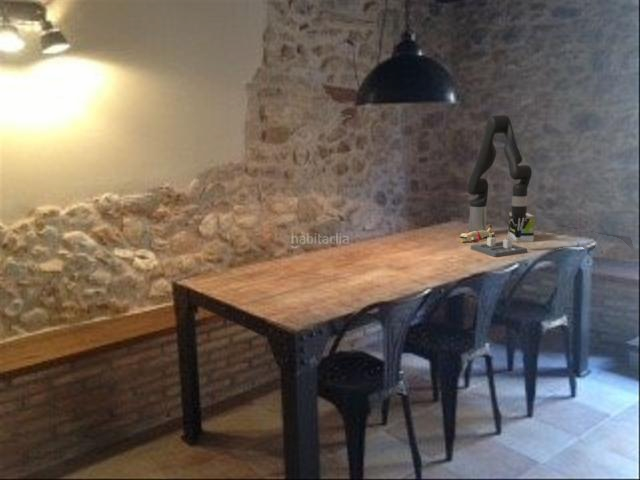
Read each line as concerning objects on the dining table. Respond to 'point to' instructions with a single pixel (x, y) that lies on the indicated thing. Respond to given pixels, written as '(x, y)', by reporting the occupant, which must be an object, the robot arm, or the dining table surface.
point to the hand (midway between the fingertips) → (517, 237)
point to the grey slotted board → (498, 249)
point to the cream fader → (491, 241)
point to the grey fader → (507, 243)
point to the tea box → (523, 230)
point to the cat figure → (476, 234)
